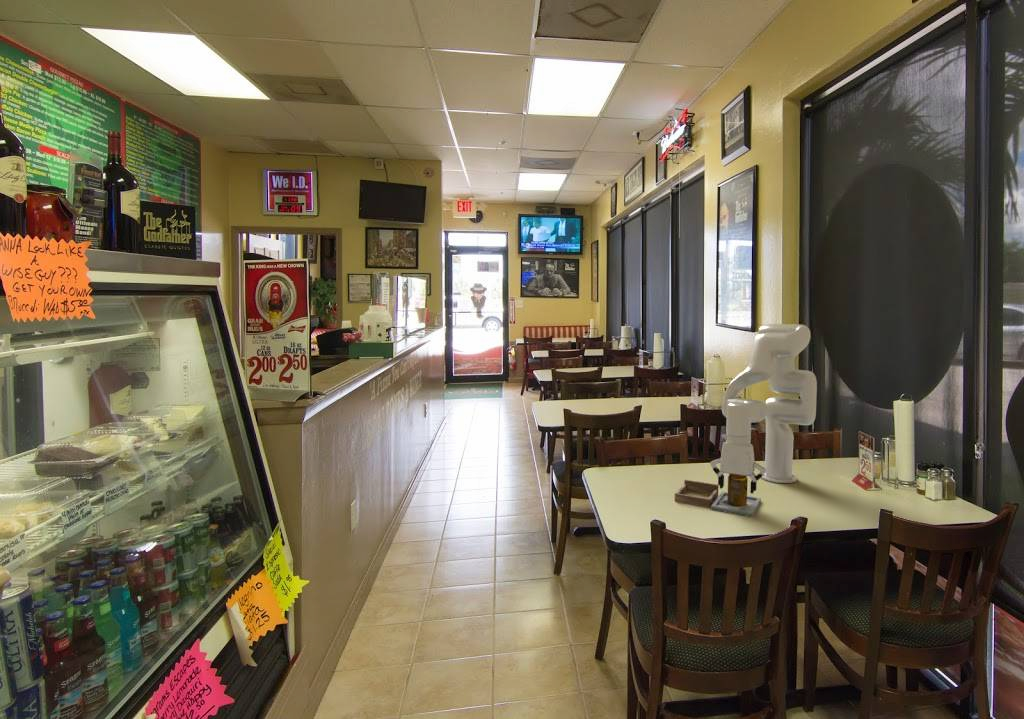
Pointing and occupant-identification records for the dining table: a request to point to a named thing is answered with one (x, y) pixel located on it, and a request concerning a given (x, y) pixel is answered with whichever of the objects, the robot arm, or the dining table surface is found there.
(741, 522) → the dining table surface
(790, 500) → the dining table surface
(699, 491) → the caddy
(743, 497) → the condiment
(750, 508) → the tray
